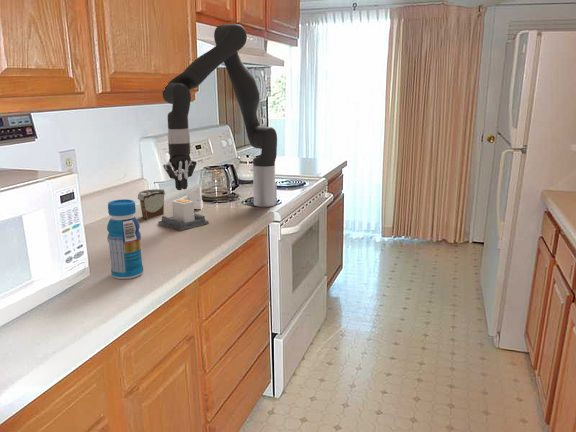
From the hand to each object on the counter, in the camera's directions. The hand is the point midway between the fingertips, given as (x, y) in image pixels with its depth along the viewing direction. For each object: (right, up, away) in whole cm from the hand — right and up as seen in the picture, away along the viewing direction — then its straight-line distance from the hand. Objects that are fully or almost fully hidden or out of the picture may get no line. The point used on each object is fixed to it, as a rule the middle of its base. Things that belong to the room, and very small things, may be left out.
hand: (181, 189), depth 176 cm
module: (0, -11, +3) cm, 12 cm away
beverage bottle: (-5, -26, -46) cm, 52 cm away
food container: (-16, -10, +14) cm, 23 cm away
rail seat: (0, -13, +3) cm, 13 cm away
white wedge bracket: (0, -7, +27) cm, 27 cm away
